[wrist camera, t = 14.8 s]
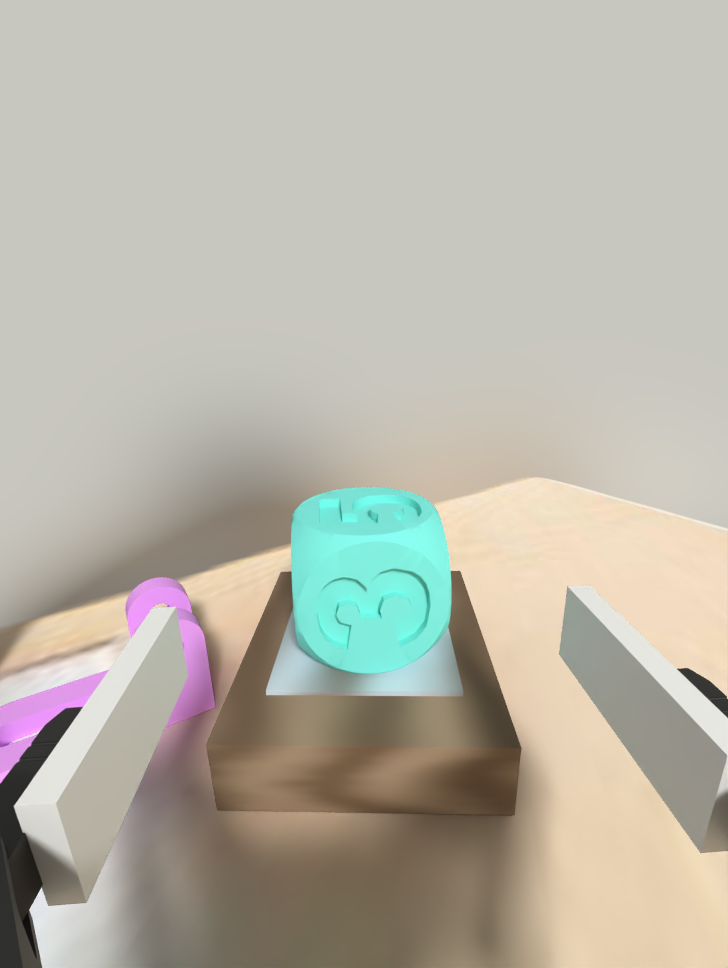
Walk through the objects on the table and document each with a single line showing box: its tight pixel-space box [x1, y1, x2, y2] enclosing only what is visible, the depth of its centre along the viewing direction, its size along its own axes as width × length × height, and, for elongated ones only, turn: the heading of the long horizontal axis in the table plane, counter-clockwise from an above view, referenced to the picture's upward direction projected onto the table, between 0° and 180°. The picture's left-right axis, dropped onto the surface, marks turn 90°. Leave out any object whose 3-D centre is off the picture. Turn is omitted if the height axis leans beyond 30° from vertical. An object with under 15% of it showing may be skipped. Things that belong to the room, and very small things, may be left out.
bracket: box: [0, 578, 215, 783], centre depth 26 cm, size 13×6×7 cm, turn 121°
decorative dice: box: [291, 487, 452, 674], centre depth 26 cm, size 8×8×8 cm
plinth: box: [206, 571, 521, 815], centre depth 28 cm, size 14×16×4 cm
